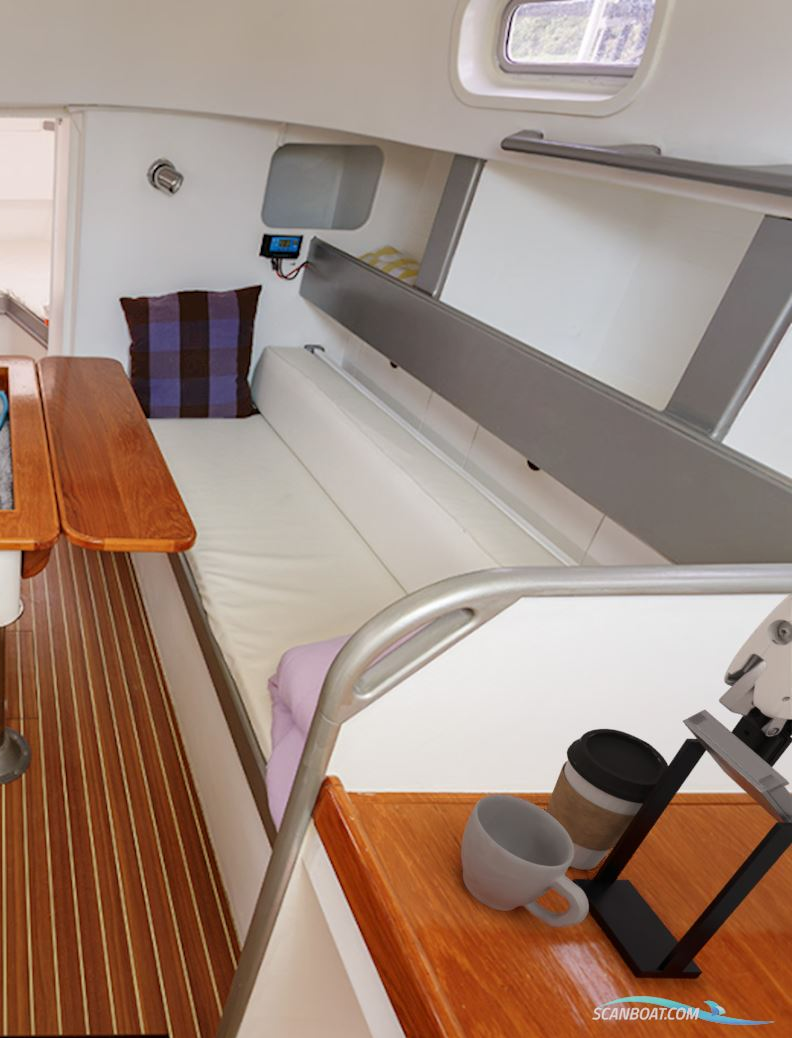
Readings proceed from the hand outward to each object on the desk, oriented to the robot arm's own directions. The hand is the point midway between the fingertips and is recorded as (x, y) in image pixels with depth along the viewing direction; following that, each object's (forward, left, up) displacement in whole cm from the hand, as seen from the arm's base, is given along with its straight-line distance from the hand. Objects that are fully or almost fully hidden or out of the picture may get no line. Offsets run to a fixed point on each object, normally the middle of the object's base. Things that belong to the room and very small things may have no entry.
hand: (745, 756), depth 68 cm
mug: (+14, +6, -22) cm, 26 cm away
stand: (+3, +5, -21) cm, 22 cm away
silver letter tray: (+3, +5, +1) cm, 5 cm away
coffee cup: (+6, -4, -22) cm, 23 cm away
